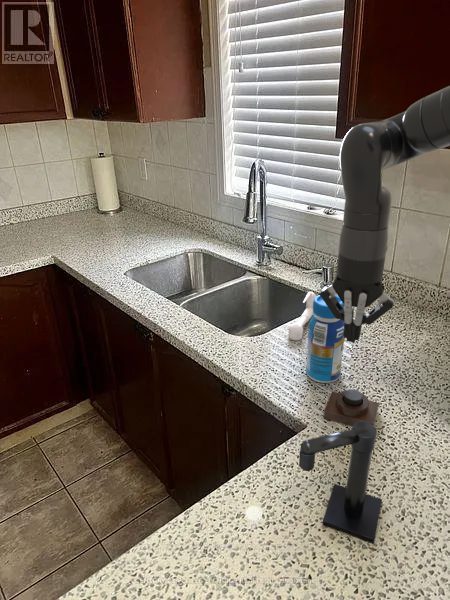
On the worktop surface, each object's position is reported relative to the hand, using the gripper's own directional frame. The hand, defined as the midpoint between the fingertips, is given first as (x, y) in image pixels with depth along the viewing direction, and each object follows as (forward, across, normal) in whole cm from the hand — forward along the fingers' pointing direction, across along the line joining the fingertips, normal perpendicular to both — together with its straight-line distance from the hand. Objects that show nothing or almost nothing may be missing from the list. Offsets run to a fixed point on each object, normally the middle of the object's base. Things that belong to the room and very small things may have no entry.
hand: (351, 339), depth 82 cm
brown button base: (+21, +1, +5) cm, 22 cm away
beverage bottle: (+22, -8, +17) cm, 28 cm away
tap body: (+21, +6, -19) cm, 29 cm away
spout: (+7, +3, -22) cm, 23 cm away
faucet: (+22, -18, +38) cm, 47 cm away
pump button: (+18, +1, +5) cm, 18 cm away
